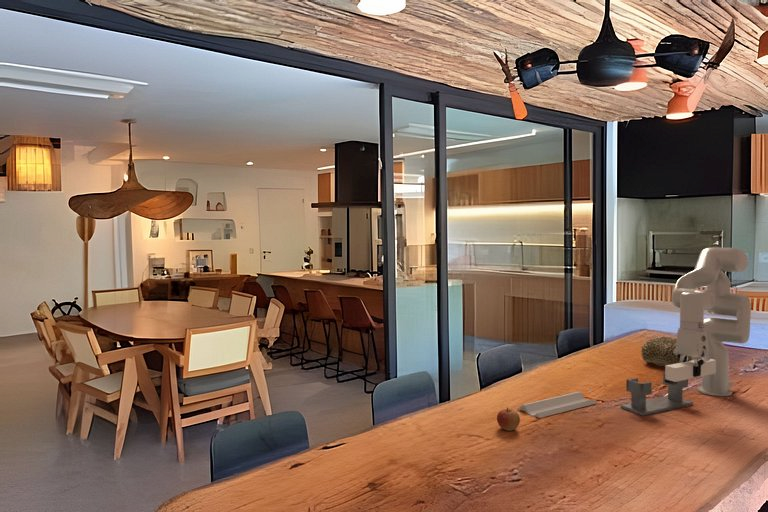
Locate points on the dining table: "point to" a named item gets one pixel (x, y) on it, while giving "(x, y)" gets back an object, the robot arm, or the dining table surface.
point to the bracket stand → (655, 404)
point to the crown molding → (556, 405)
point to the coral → (660, 351)
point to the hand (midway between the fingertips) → (690, 374)
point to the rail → (688, 370)
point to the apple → (508, 419)
